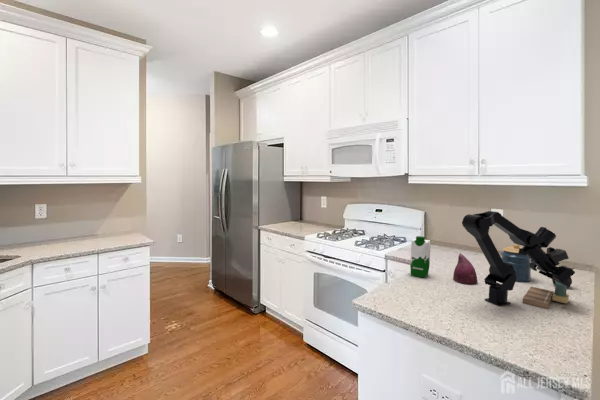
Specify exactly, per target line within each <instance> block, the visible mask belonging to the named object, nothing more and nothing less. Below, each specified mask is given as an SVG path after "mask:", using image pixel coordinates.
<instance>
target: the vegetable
mask: <svg viewBox="0 0 600 400" xmlns="http://www.w3.org/2000/svg"><path fill="white" fill-rule="evenodd" d="M457 259H458V260H457V262H456V263H457V264H456V265H455V268H454V272H453V277H452V280H453V281H454V282H456V283H459V284H462V285H468V286H470V285H471V286H472V285H473V286H474V285H477V284H478V277H477V272H476V268H475V267H474V265H473V264H472V263H471V262H470V260H469V259H468V258H467V257H466V256H465V255H464V254H462V253H461V252H459V254H458V258H457Z"/></svg>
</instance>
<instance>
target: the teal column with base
mask: <svg viewBox="0 0 600 400" xmlns="http://www.w3.org/2000/svg"><path fill="white" fill-rule="evenodd" d="M567 289H568V288H567V286H566V285H564V284H562V283H560V282H558V281H556V282H555V285H554V294H553V298H552V301H555V302H558V303H563V304H568V302H569V299H570V293H567Z"/></svg>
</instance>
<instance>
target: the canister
mask: <svg viewBox="0 0 600 400" xmlns="http://www.w3.org/2000/svg"><path fill="white" fill-rule="evenodd" d="M519 248H522V247H521V245H518V244H515V243H513V246H508V245H507V246H506V247H503V248H502V250H503V251H502V252H500V256H501V258H502V260H503V262H505V263H508V264H511V265H512V266H513V269H514V271H515V272H516V273H515V274H516V282H520V283H526V282H530V281H531V273H532V272H531V270H532V269H531V268H530V267H529V264H530V263H531V261H530V260H531V259H530V258H529V257H528V256H527V255H519V254H518V253H519Z"/></svg>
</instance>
